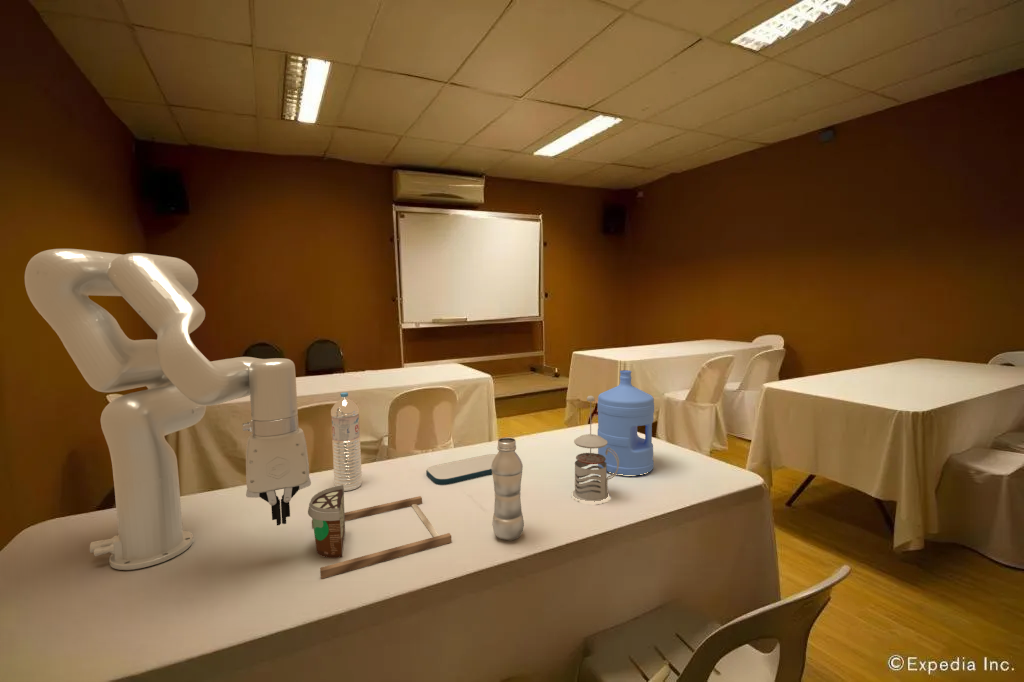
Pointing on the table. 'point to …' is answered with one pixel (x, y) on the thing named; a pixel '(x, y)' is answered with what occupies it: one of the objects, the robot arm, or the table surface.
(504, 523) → the plastic bottle
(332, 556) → the food container
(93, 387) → the robot arm
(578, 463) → the french press
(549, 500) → the table surface
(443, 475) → the external hard drive
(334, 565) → the wooden frame
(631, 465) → the water jug
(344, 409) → the water bottle
